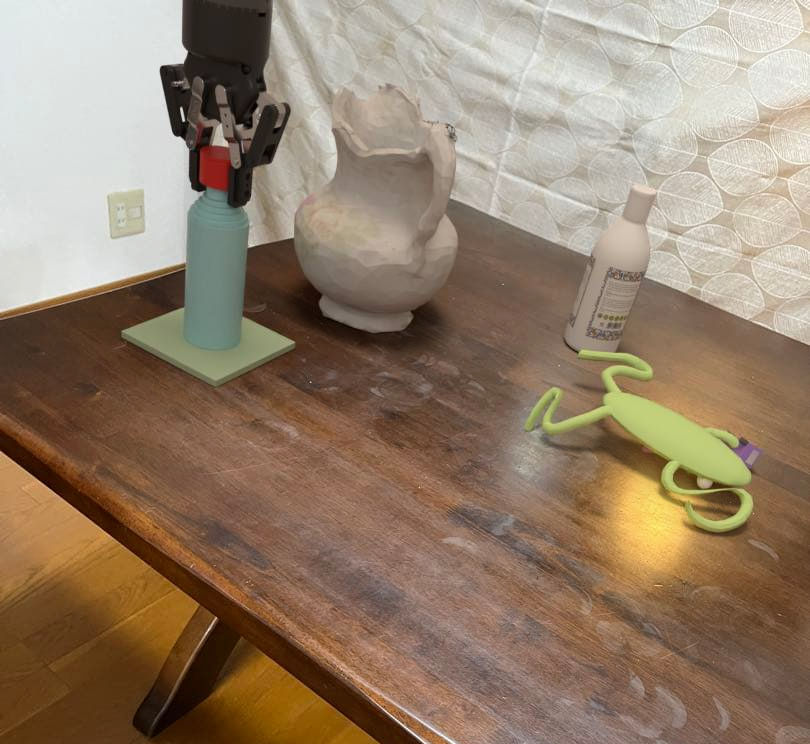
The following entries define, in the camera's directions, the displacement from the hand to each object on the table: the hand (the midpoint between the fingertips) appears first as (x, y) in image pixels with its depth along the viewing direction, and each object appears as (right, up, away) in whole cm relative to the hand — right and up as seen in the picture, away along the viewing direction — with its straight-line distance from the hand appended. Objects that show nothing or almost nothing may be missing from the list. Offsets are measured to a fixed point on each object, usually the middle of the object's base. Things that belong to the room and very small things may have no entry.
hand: (219, 196), depth 83 cm
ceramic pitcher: (+14, -6, +23) cm, 27 cm away
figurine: (+43, -23, +10) cm, 50 cm away
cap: (0, +1, -1) cm, 1 cm away
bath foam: (+42, -8, +28) cm, 51 cm away
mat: (-3, -12, +10) cm, 16 cm away
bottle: (-3, -11, +9) cm, 15 cm away
